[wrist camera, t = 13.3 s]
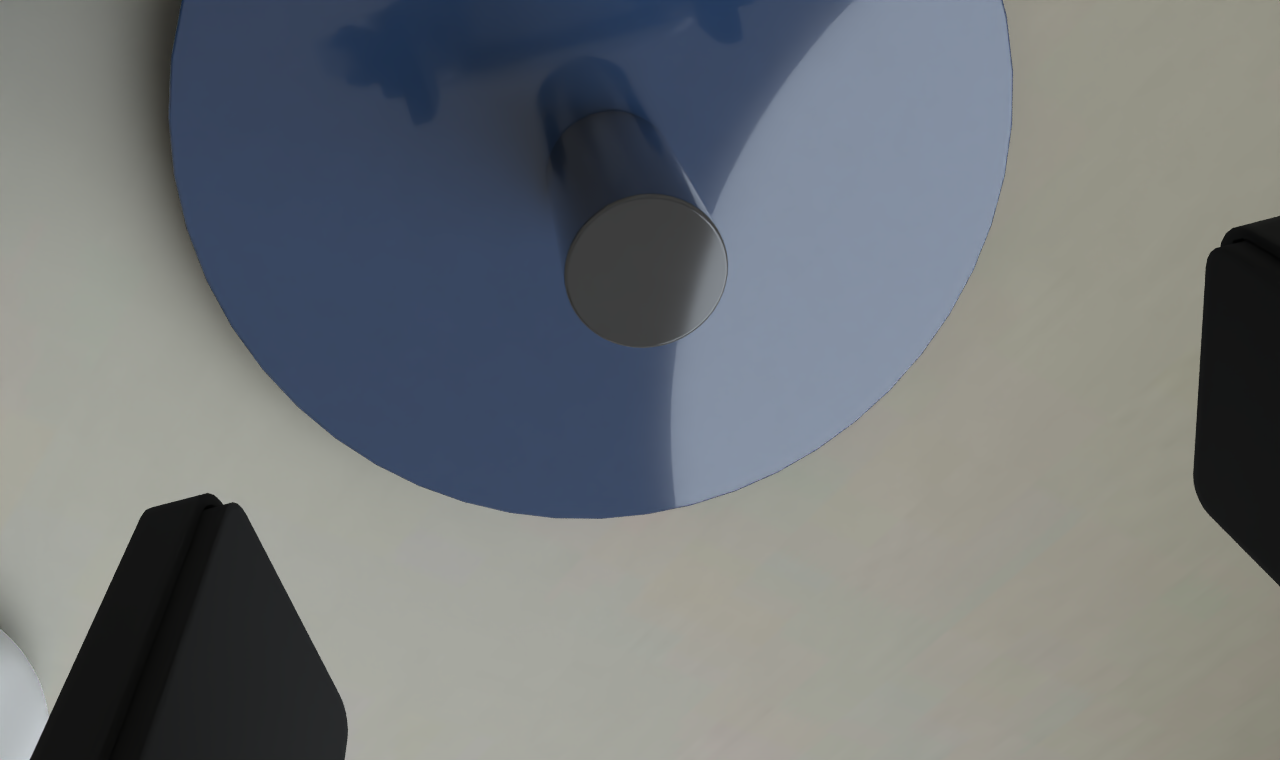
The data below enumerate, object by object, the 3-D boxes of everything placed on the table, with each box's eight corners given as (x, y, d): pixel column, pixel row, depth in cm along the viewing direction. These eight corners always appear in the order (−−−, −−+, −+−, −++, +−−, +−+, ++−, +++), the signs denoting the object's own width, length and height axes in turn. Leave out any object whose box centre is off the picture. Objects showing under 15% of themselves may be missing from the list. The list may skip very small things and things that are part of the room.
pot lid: (962, -424, 18) (1172, -526, 13) (1010, 394, 26) (1151, 549, 21) (17, -182, 18) (-187, -180, 13) (356, 566, 26) (323, 768, 21)
